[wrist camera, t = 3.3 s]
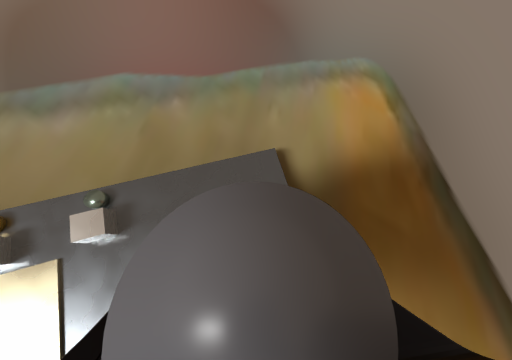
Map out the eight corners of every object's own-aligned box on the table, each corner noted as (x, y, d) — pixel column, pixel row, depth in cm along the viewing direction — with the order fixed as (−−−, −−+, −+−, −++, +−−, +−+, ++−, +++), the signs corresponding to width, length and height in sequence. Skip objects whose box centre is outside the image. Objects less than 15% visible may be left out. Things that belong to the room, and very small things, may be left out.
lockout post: (259, 313, 13) (374, 601, 2) (192, 286, 13) (22, 457, 2) (280, 242, 14) (411, 233, 4) (221, 219, 14) (191, 147, 4)
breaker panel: (338, 351, 14) (364, 376, 11) (-118, 559, 9) (-262, 688, 7) (271, 155, 18) (278, 139, 15) (-72, 236, 13) (-150, 233, 11)
